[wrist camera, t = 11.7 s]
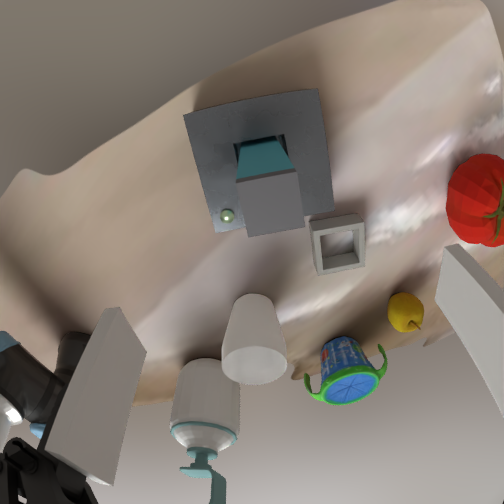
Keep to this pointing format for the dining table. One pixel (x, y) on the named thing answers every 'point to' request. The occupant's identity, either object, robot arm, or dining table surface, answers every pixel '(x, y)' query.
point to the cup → (253, 342)
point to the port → (253, 127)
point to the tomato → (478, 200)
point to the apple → (405, 312)
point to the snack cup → (346, 373)
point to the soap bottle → (205, 418)
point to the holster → (342, 260)
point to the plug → (268, 188)
